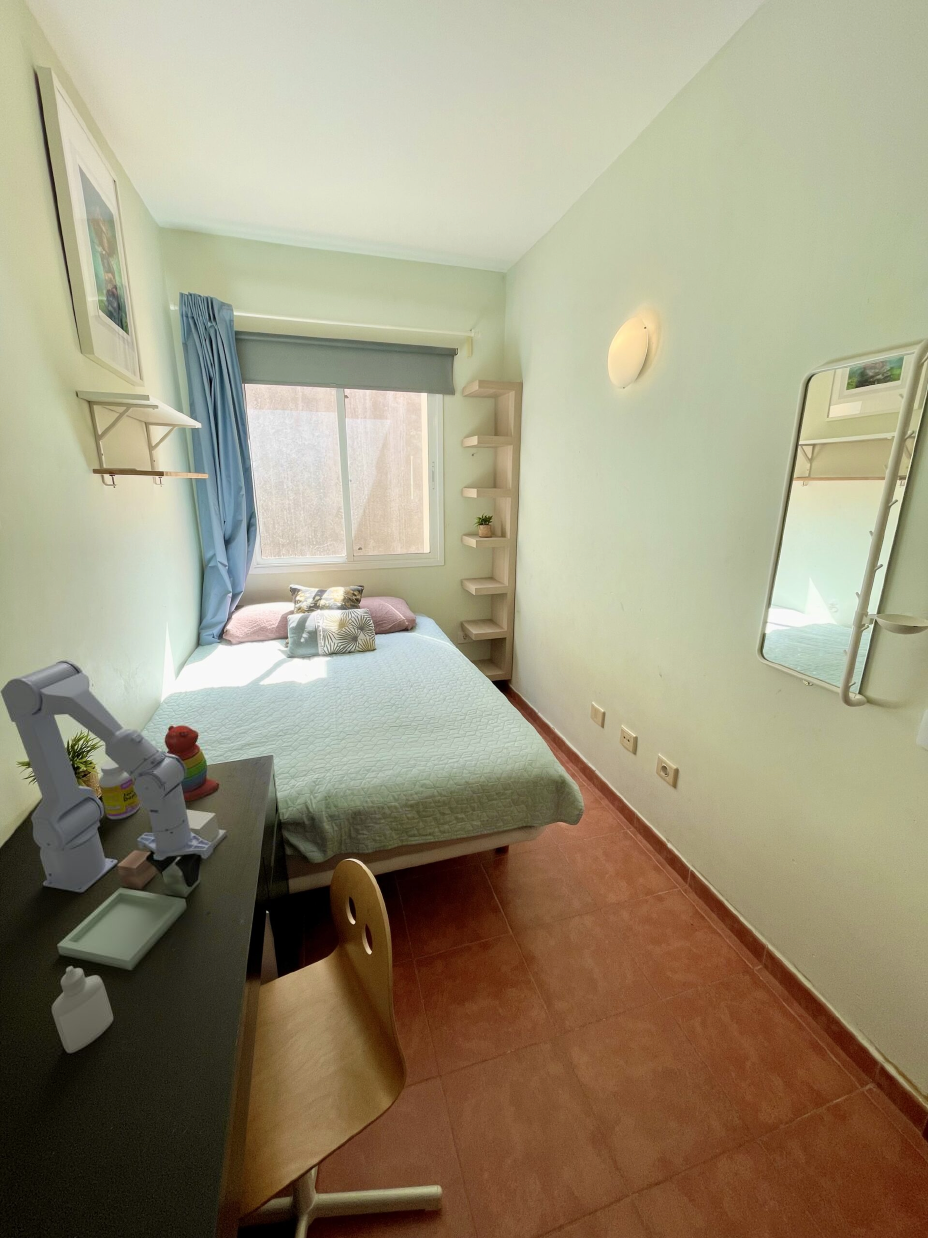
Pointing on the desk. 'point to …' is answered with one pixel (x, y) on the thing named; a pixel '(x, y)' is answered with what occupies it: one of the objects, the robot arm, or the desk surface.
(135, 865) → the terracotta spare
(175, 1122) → the desk surface
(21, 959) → the desk surface
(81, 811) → the robot arm
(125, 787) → the supplement bottle
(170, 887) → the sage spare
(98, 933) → the sage tray
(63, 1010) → the eye dropper bottle
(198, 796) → the stacking bear
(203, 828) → the mounted unit
